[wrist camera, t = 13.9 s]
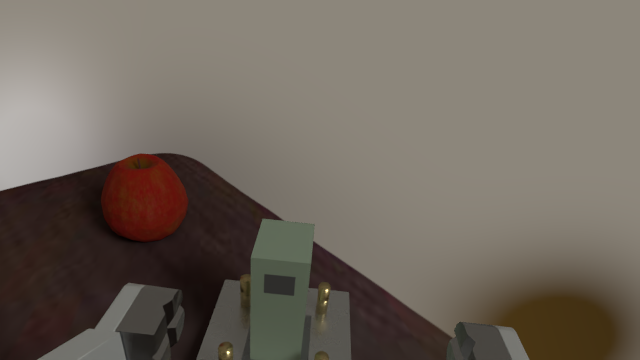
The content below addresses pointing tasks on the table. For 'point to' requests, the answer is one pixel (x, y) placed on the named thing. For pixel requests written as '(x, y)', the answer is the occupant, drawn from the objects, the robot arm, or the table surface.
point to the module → (279, 289)
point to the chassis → (318, 335)
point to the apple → (143, 199)
